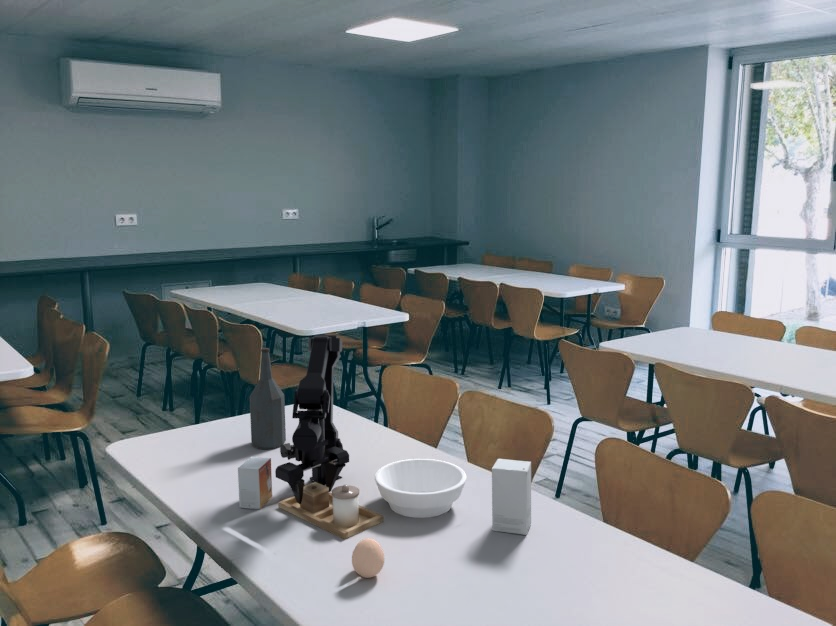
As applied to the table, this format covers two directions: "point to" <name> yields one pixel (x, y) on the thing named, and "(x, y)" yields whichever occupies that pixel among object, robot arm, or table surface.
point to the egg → (368, 558)
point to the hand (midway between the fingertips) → (314, 497)
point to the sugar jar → (345, 506)
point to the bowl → (420, 486)
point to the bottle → (267, 409)
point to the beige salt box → (315, 497)
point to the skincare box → (511, 496)
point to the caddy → (326, 517)
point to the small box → (255, 482)
